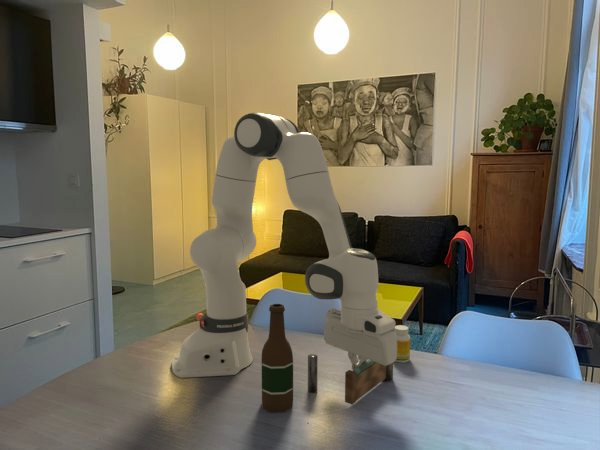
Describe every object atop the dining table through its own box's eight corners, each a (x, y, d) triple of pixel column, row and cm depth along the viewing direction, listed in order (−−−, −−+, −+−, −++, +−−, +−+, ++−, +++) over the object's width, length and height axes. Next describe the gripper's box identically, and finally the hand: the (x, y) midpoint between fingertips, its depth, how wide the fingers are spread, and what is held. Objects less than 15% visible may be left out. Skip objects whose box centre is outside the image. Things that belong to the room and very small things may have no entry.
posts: (389, 375, 123) (390, 339, 121) (395, 380, 120) (396, 343, 118) (305, 388, 115) (305, 350, 114) (310, 394, 112) (310, 355, 111)
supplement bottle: (387, 358, 134) (387, 326, 132) (398, 354, 137) (399, 323, 136) (401, 364, 129) (402, 332, 128) (413, 359, 133) (414, 327, 132)
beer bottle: (268, 417, 102) (268, 312, 99) (255, 401, 109) (254, 303, 106) (299, 408, 105) (300, 307, 103) (285, 394, 112) (285, 298, 109)
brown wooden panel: (379, 376, 119) (380, 349, 119) (386, 378, 118) (387, 351, 117) (344, 401, 106) (345, 372, 105) (352, 404, 105) (352, 374, 104)
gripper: (318, 309, 116) (318, 361, 118) (385, 329, 101) (384, 389, 103) (335, 304, 120) (334, 354, 122) (401, 323, 106) (399, 380, 107)
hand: (357, 370), depth 112 cm, fingers closed
